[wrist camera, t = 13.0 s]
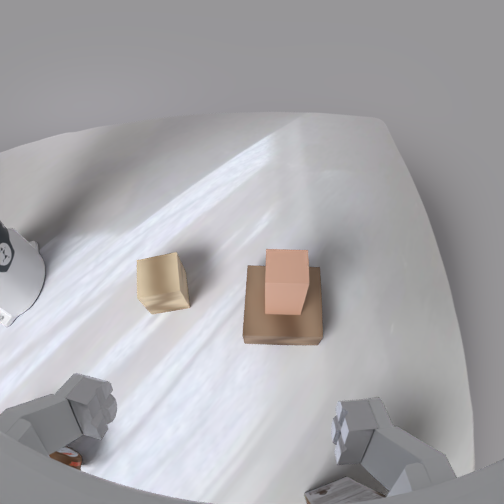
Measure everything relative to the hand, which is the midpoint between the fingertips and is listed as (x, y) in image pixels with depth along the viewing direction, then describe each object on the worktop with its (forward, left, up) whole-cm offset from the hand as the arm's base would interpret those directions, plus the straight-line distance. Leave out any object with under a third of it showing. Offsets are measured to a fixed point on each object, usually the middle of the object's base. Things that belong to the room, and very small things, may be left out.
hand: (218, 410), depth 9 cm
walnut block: (+3, +16, -30) cm, 34 cm away
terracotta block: (+3, +16, -26) cm, 30 cm away
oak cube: (-14, +18, -30) cm, 37 cm away
